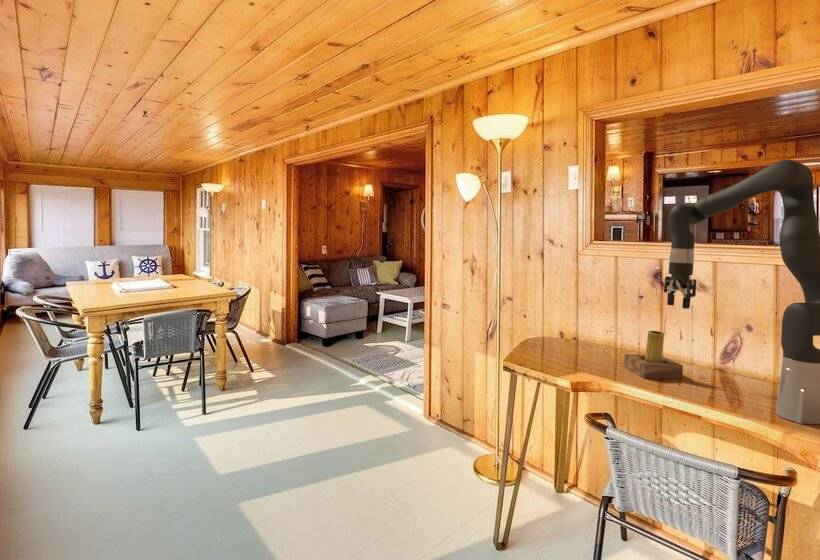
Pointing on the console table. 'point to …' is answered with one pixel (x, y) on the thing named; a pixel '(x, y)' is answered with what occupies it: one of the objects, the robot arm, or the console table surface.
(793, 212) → the robot arm
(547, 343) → the console table surface
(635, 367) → the bore block
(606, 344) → the console table surface
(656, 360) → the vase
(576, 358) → the console table surface
